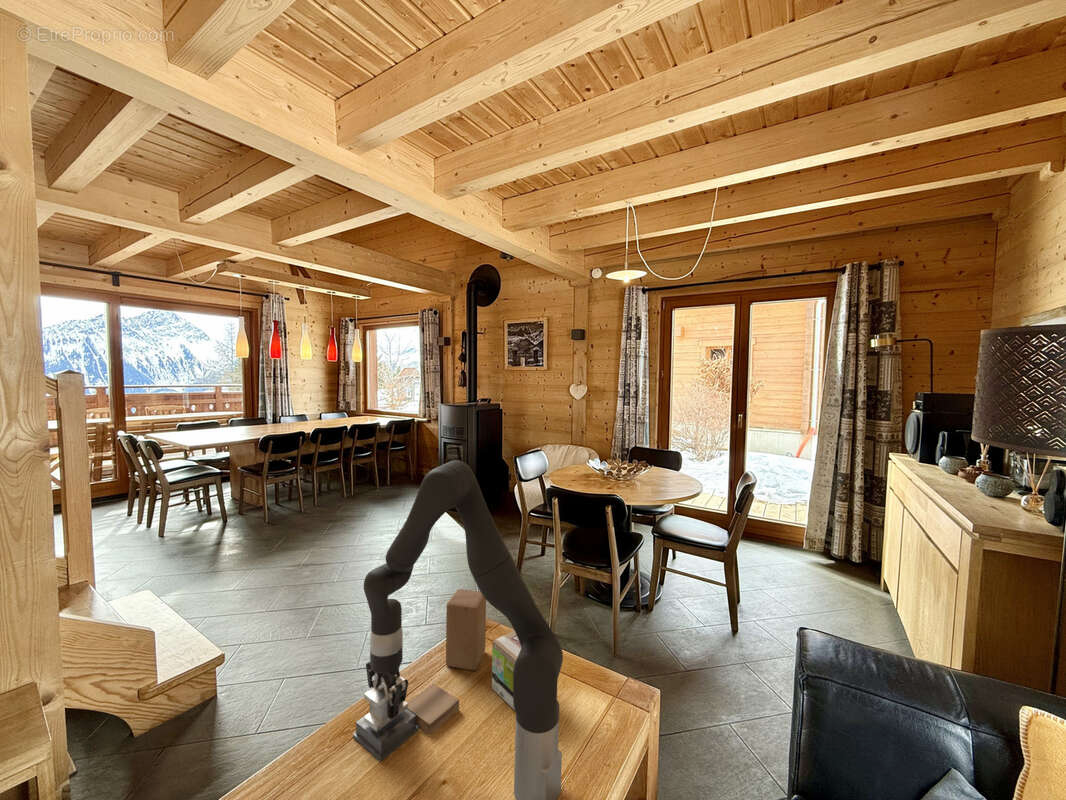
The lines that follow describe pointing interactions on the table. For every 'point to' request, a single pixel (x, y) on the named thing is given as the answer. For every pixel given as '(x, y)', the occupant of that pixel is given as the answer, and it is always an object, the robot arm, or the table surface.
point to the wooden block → (465, 629)
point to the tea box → (504, 665)
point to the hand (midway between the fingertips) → (386, 711)
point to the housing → (380, 707)
